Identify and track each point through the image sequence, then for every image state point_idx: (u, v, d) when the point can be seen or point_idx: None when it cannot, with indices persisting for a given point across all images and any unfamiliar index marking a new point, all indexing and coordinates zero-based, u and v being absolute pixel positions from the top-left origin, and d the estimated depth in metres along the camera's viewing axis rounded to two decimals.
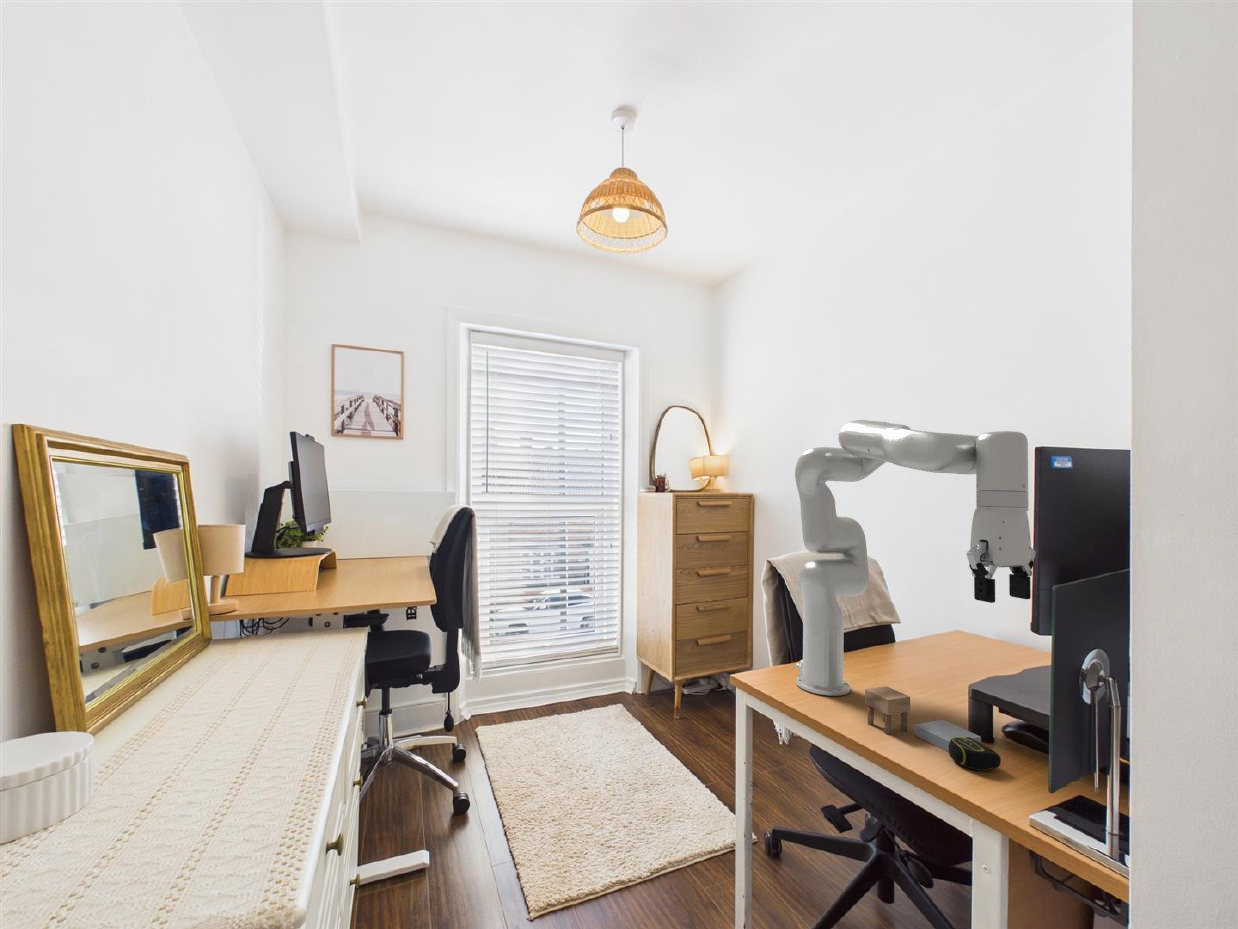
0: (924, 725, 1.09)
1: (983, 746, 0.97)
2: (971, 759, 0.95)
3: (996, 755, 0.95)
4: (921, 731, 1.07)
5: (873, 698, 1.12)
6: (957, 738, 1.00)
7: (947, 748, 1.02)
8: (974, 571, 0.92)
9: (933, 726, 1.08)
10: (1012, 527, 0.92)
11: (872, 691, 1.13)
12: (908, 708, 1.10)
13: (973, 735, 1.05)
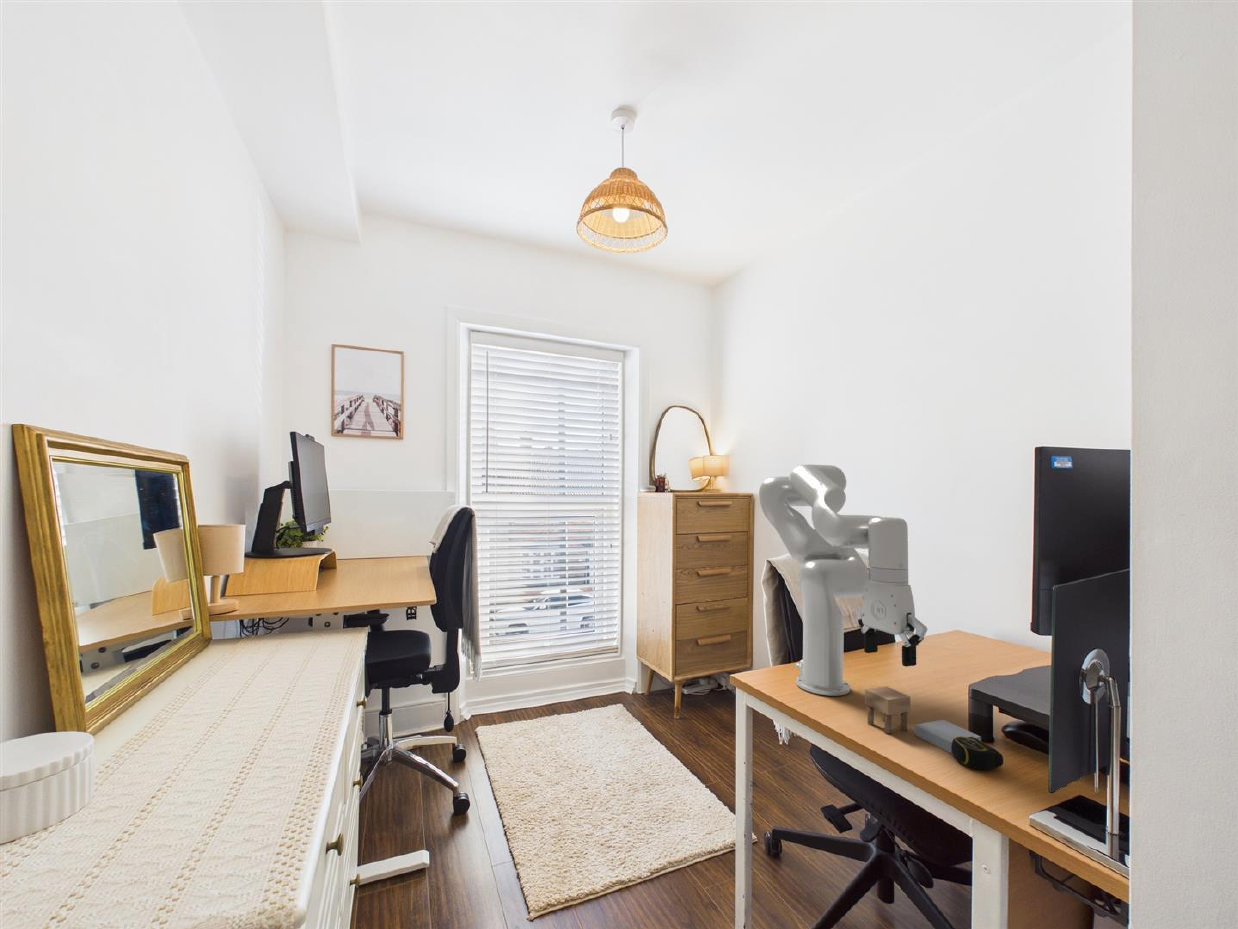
0: (924, 725, 1.09)
1: (986, 746, 0.97)
2: (974, 758, 0.95)
3: (999, 754, 0.95)
4: (921, 731, 1.07)
5: (873, 698, 1.12)
6: (960, 737, 1.00)
7: (947, 748, 1.02)
8: (915, 642, 1.06)
9: (933, 726, 1.08)
10: None
11: (872, 691, 1.13)
12: (908, 708, 1.10)
13: (973, 735, 1.05)
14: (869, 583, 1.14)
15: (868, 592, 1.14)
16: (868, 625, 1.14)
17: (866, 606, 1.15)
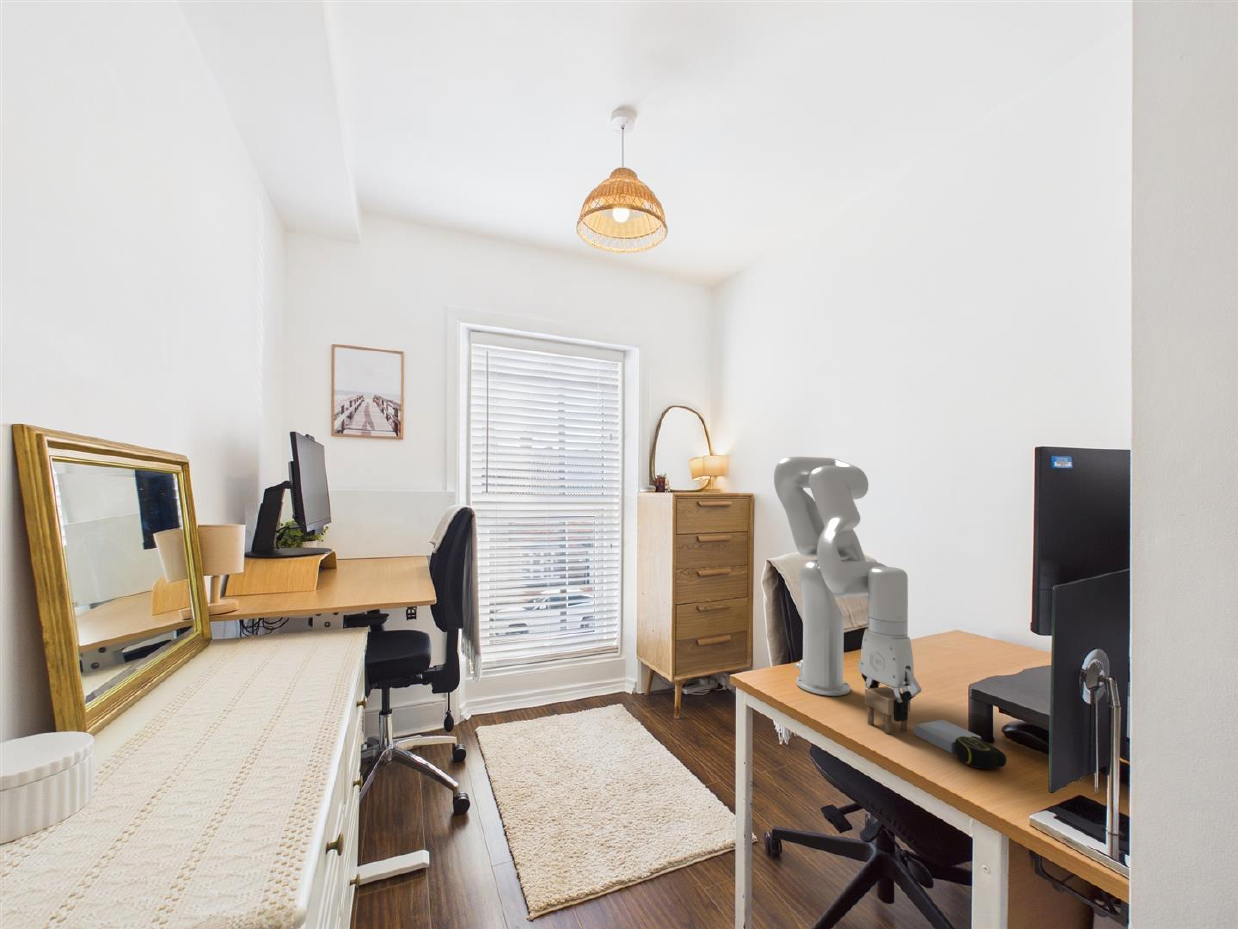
0: (924, 725, 1.09)
1: (989, 745, 0.97)
2: (977, 758, 0.95)
3: (1002, 754, 0.95)
4: (921, 731, 1.07)
5: (873, 698, 1.12)
6: (963, 737, 1.00)
7: (947, 748, 1.02)
8: (907, 699, 1.07)
9: (933, 726, 1.08)
10: None
11: (872, 691, 1.13)
12: (908, 708, 1.10)
13: (973, 735, 1.05)
14: (868, 633, 1.14)
15: (867, 642, 1.14)
16: (866, 675, 1.14)
17: (864, 655, 1.15)
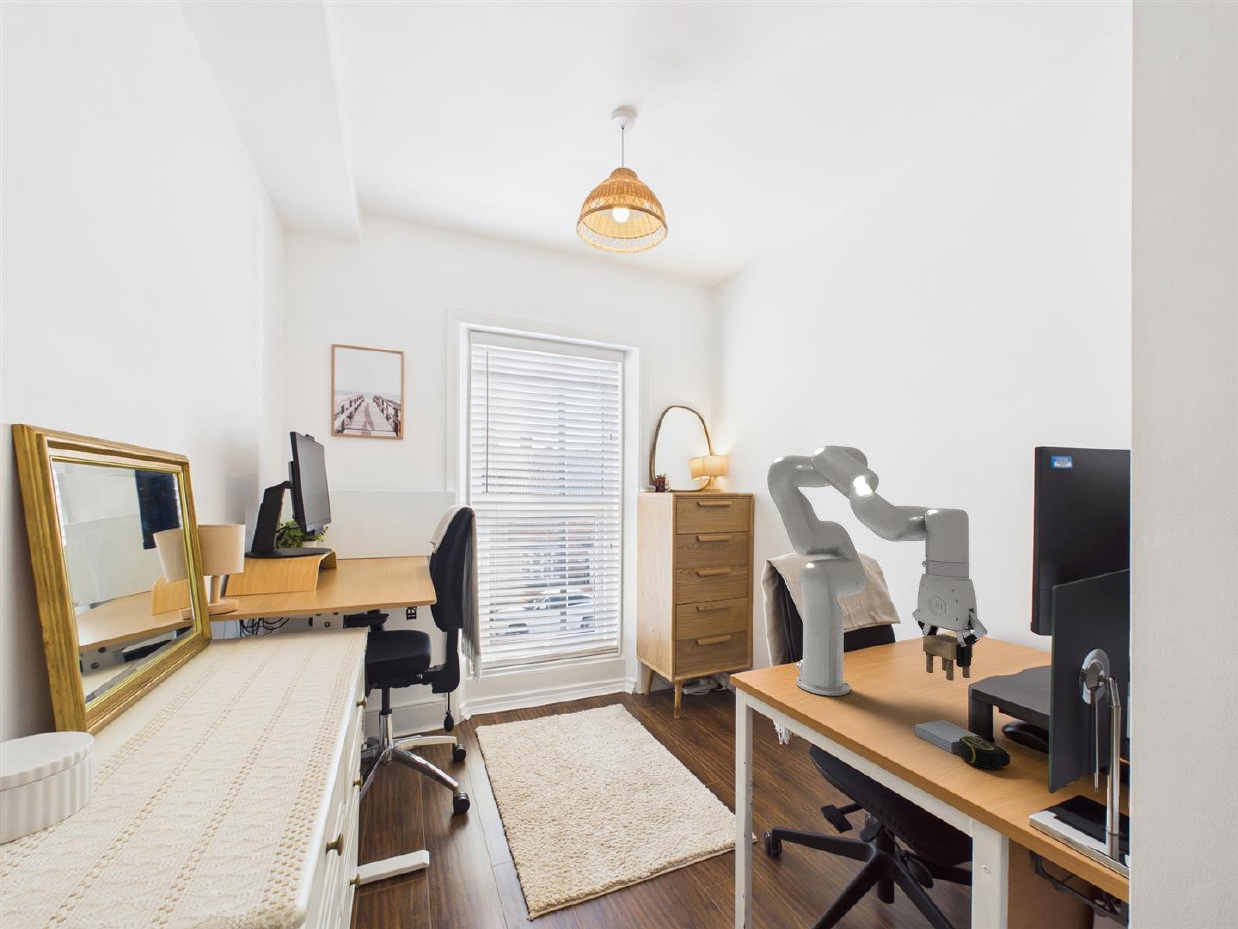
0: (924, 725, 1.09)
1: (993, 745, 0.97)
2: (981, 757, 0.95)
3: (1006, 754, 0.95)
4: (921, 731, 1.07)
5: (933, 644, 1.06)
6: (967, 736, 1.00)
7: (947, 748, 1.02)
8: (971, 642, 1.02)
9: (933, 726, 1.08)
10: None
11: (931, 638, 1.08)
12: None
13: (973, 735, 1.05)
14: (926, 577, 1.09)
15: (925, 587, 1.09)
16: (925, 621, 1.09)
17: (922, 601, 1.10)
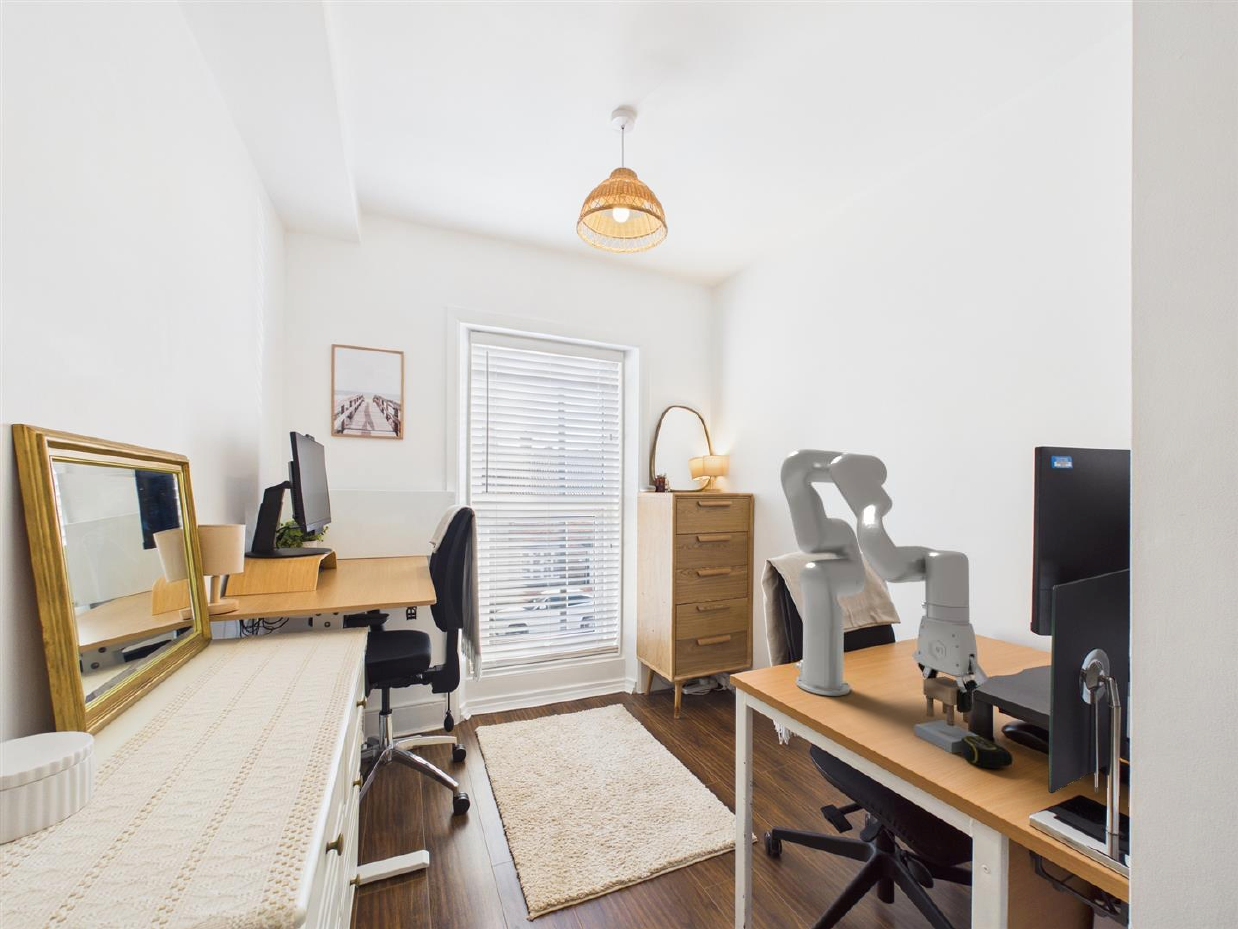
0: (924, 725, 1.09)
1: (995, 744, 0.98)
2: (983, 757, 0.95)
3: (1008, 753, 0.96)
4: (921, 731, 1.07)
5: (933, 688, 1.06)
6: (969, 736, 1.01)
7: (947, 748, 1.02)
8: (972, 688, 1.01)
9: (933, 726, 1.08)
10: None
11: (931, 681, 1.07)
12: None
13: (973, 735, 1.05)
14: (926, 620, 1.09)
15: (925, 629, 1.09)
16: (925, 664, 1.08)
17: (922, 644, 1.09)
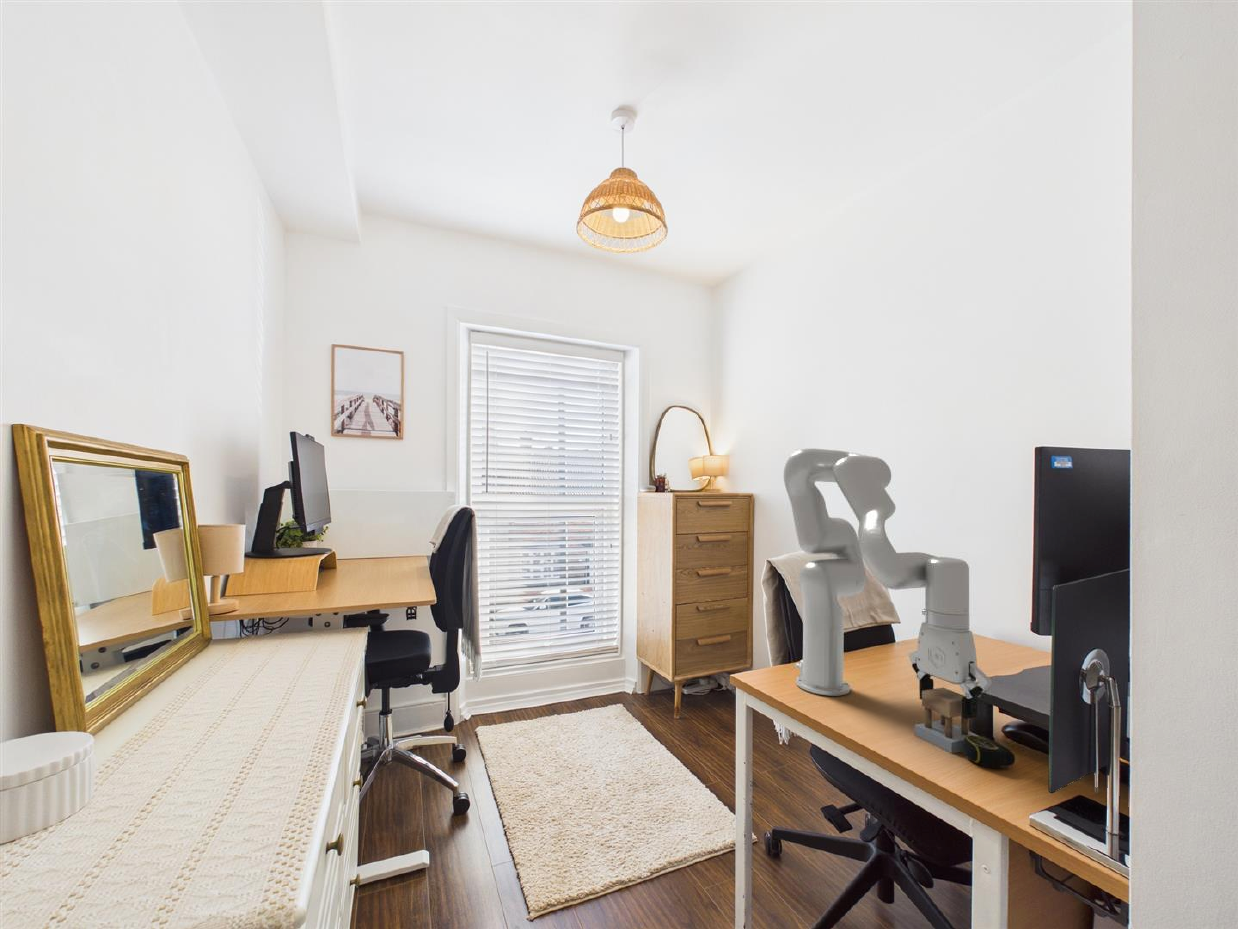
0: (924, 725, 1.09)
1: (997, 744, 0.98)
2: (985, 756, 0.95)
3: (1010, 753, 0.96)
4: (921, 731, 1.07)
5: (932, 700, 1.06)
6: (971, 736, 1.01)
7: (947, 748, 1.02)
8: (977, 694, 1.00)
9: (933, 726, 1.08)
10: None
11: (930, 693, 1.07)
12: None
13: None
14: (926, 627, 1.09)
15: (925, 636, 1.09)
16: (924, 671, 1.08)
17: (922, 650, 1.09)
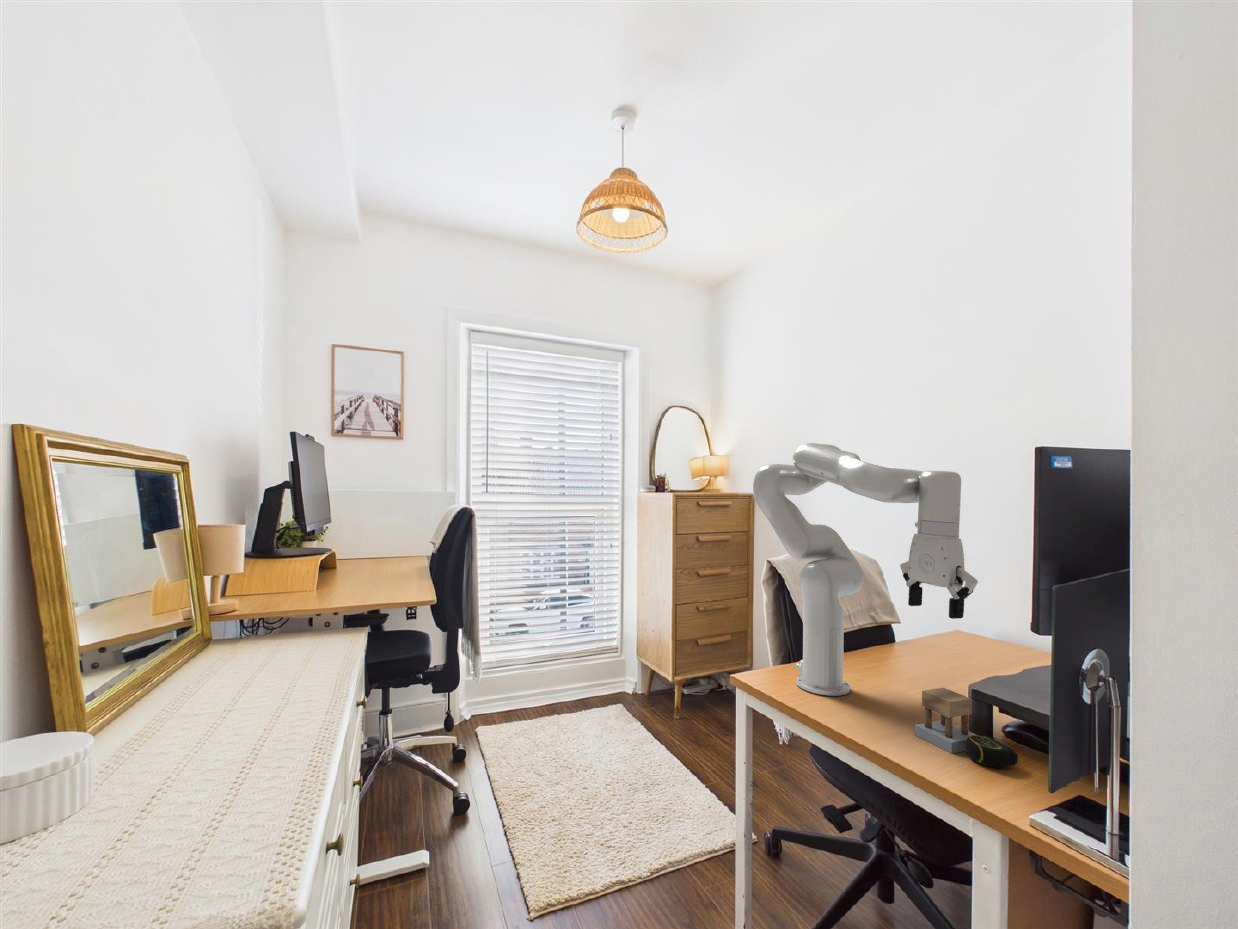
0: (924, 725, 1.09)
1: (1000, 744, 0.98)
2: (988, 756, 0.96)
3: (1013, 753, 0.96)
4: (921, 731, 1.07)
5: (932, 700, 1.06)
6: (974, 736, 1.01)
7: (947, 748, 1.02)
8: (964, 595, 1.05)
9: (933, 726, 1.08)
10: None
11: (930, 693, 1.07)
12: (969, 710, 1.05)
13: None
14: (918, 536, 1.14)
15: (916, 545, 1.14)
16: (914, 578, 1.14)
17: (913, 559, 1.14)
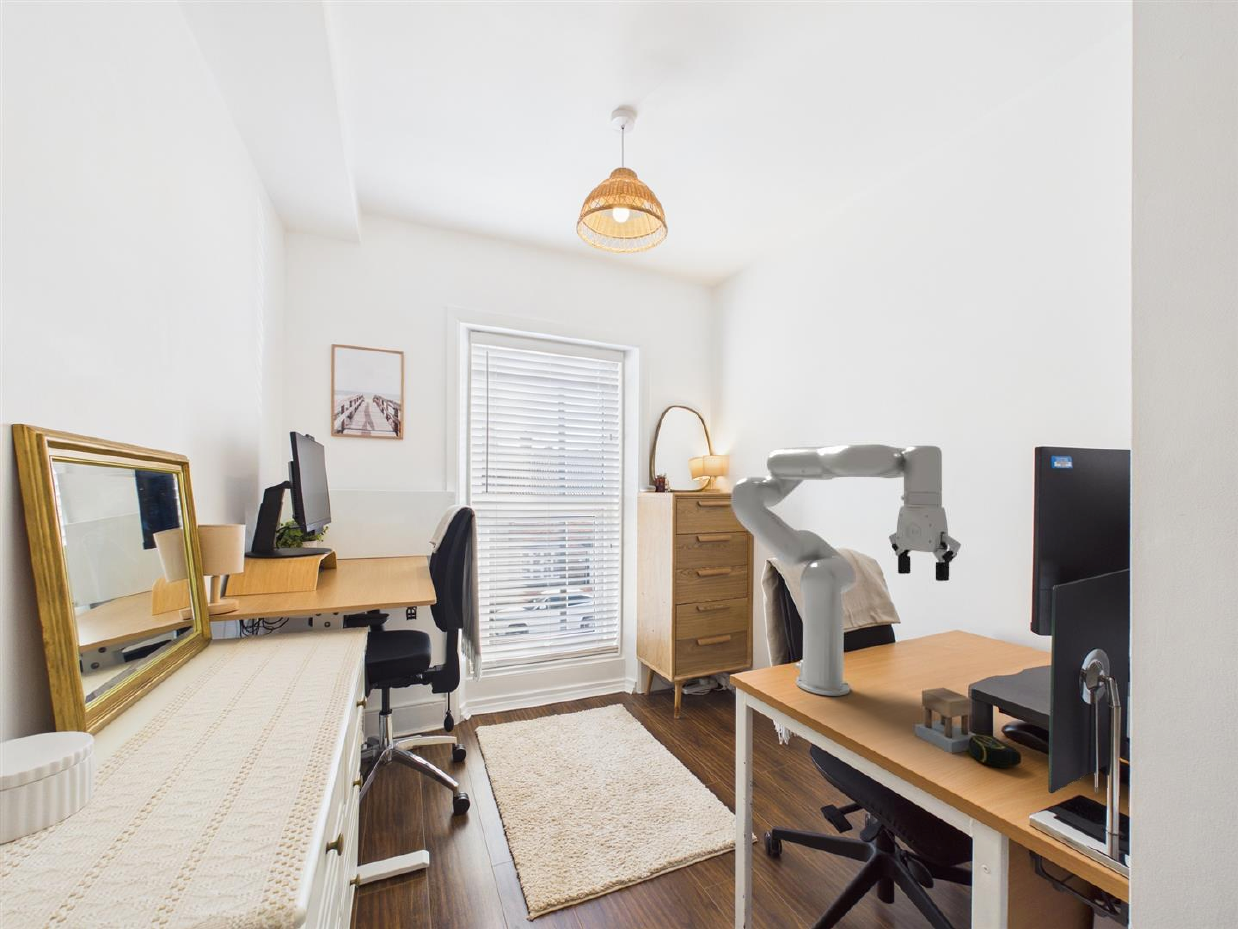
0: (924, 725, 1.09)
1: (1003, 744, 0.98)
2: (992, 756, 0.96)
3: (1016, 752, 0.96)
4: (921, 731, 1.07)
5: (932, 700, 1.06)
6: (977, 735, 1.01)
7: (947, 748, 1.02)
8: (949, 558, 1.14)
9: (933, 726, 1.08)
10: None
11: (930, 693, 1.07)
12: (969, 710, 1.05)
13: None
14: (904, 508, 1.22)
15: (903, 516, 1.22)
16: (903, 547, 1.22)
17: (900, 529, 1.23)
